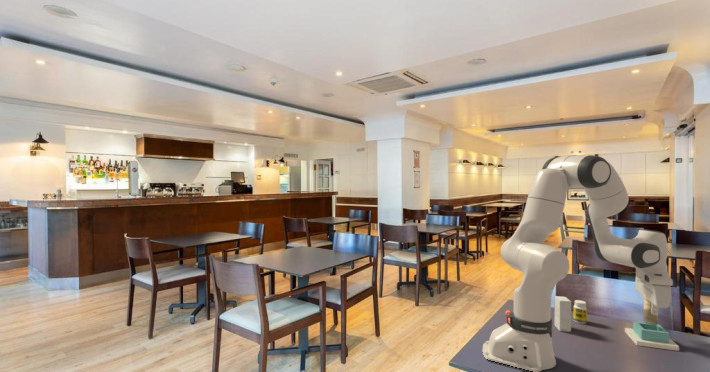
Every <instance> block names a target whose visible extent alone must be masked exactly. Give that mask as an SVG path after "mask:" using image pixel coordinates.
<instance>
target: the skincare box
mask: <svg viewBox="0 0 710 372" xmlns="http://www.w3.org/2000/svg"><path fill="white" fill-rule="evenodd" d="M554 326H555V328H556V329H557V331H560V332H566V333H567V332H568V333H572V301H571V300H570V299H569V298H568V297H566V296H557V295H555V296H554Z"/></svg>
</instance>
